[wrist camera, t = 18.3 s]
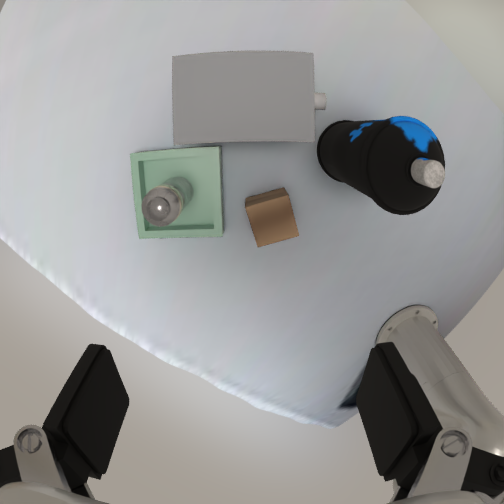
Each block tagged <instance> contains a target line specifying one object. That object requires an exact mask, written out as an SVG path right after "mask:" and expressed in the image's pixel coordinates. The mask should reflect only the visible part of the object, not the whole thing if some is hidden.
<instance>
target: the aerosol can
mask: <svg viewBox="0 0 504 504" xmlns="http://www.w3.org/2000/svg"><path fill="white" fill-rule="evenodd" d="M317 155H318V159H319V163H320V165H321V167H322V168H323V170H324V171H325V172H326V173H327V174H328V175H329V176H330V177H331V178H333V179H335V180H337V181H339V182H344V183H346V184H348V185H349V186H351V187H353V188H355V189H356V190H358V191H360V192H362V193H363V194H365V195H367V196H368V197H370V198H372V199H373V200H374V202H375V203H376V204H377V205H378V206H380V207H381V208H383V209H384V210H386V211H388V212H390V213H393V214H399V215H408V214H413V213H416V212H418V211H420V210H422V209H424V208H425V207H426V206H428V205H429V204H430V203H431V202H432V201H433V200H434V198H435V197H436V195H437V194H438V192H439V190H440V188H441V185H442V183H443V181H444V178H445V160H444V154H443V150H442V147H441V144H440V142H439V140H438V138H437V137H436V135H435V134H434V133H433V131H432V130H431V129H430V128H429V127H428V126H427V125H425V124H424V123H422V122H421V121H419V120H417V119H415V118H411V117H407V116H396V117H391V118H389V119H386V120H370V121H350V120H342V121H338V122H335V123H333V124H331V125H330V126H328V127H327V128H326V129H325V130H324V131H323V133H322V135H321V136H320V139H319V142H318V147H317Z"/></svg>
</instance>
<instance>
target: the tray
mask: <svg viewBox="0 0 504 504" xmlns="http://www.w3.org/2000/svg"><path fill="white" fill-rule="evenodd" d="M130 159H131V172H132V183H133V194H134V203H135V211H136V220H137V227H138V234H139V239H146V238H181V237H223V233H224V216H223V192H222V163H221V146H208V147H191V148H177V149H165V150H155V151H145V152H137V153H132V154H130ZM173 177H183V178H185V179H187V180H188V181H189V182H190V183H191V185H192V187H193V198H192V200H191V201H190V202H189V204H188V205H187V206H186V207H185V208H184V209H183V211H182V212H181V214H180V215H179V216H178V218H177V219H176V220H175V221H174V222H172V223H171V224H169V225H167V226H163V227H159V226H155V225H152V224H151V223H149V222H148V221H147V220H146V219H145V217H144V215H143V213H142V208H141V205H142V200H143V198H144V196H145V195H146V194H147V193H148V192H149V191H150V190H151V189H153V188H154V187H156V186H158V185H161V184H162V183H164V182H166V181H167V180H169V179H171V178H173Z"/></svg>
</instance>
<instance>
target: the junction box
mask: <svg viewBox="0 0 504 504" xmlns="http://www.w3.org/2000/svg"><path fill="white" fill-rule="evenodd" d="M172 99H173V136H174V145H183V144H197V143H216V142H247V141H288V142H315V109H317V110H325V108H326V94H325V93H314V58H313V53H306V52H289V51H227V52H210V53H198V54H188V55H180V56H172Z"/></svg>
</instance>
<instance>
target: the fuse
mask: <svg viewBox="0 0 504 504" xmlns="http://www.w3.org/2000/svg"><path fill="white" fill-rule="evenodd" d="M192 198H193V187H192V185H191V183H190V182H189V181H188V180H187V179H185V178H183V177H173V178H171V179H169V180H167V181H166V182H164V183H162V184H161V185H158V186H156V187H154V188H153V189H151V190H150V191H149V192H148V193H147V194H146V195H145V196H144V198H143V200H142V205H141V208H142V213H143V215H144V217H145V219H146V220H147V221H148V222H149V223H151V224H152V225H155V226H159V227H163V226H167V225H169V224H171V223H172V222H174V221H175V220H176V219H177V218H178V216H179V215H180V214H181V212H182V211H183V209H184V208H185V207H186V206H187V205H188V204H189V202H190V201H191V200H192Z"/></svg>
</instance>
